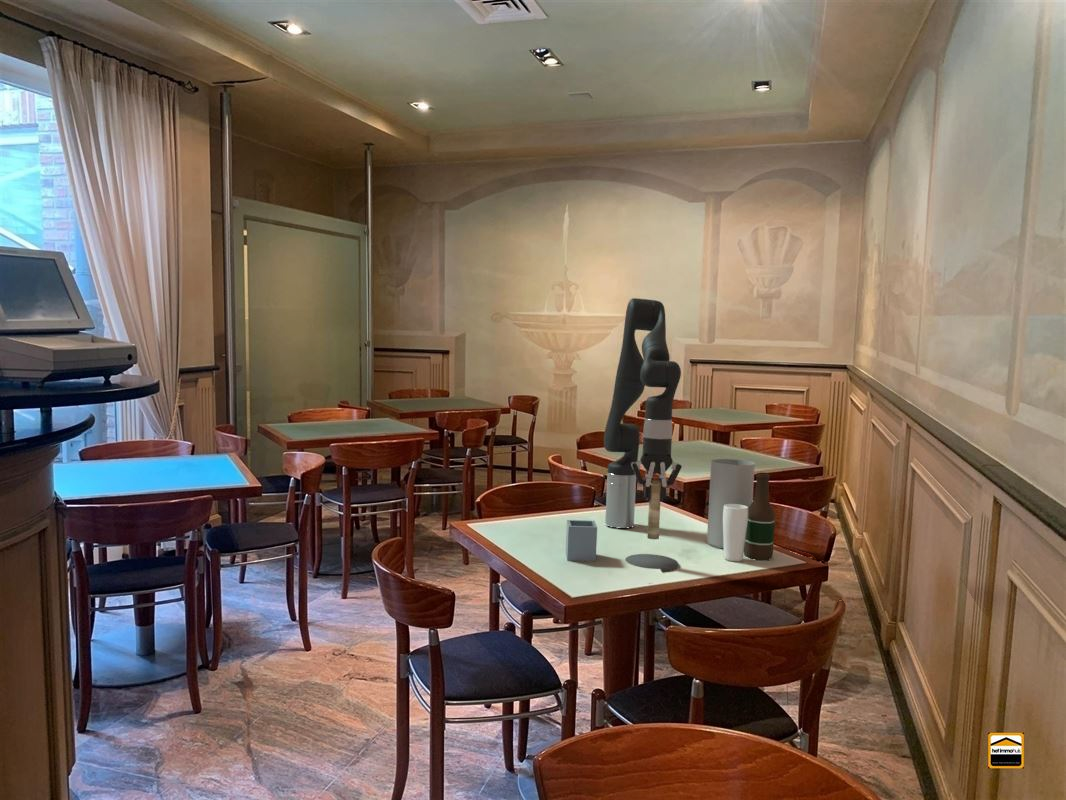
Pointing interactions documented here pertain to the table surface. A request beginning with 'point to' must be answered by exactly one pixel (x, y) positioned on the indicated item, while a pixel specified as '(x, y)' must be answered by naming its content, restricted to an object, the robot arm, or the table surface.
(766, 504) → the beer bottle
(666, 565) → the gray disc
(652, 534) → the beech dowel
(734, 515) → the drinking glass
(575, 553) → the deep cup
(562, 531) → the table surface
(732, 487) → the cylinder vase
